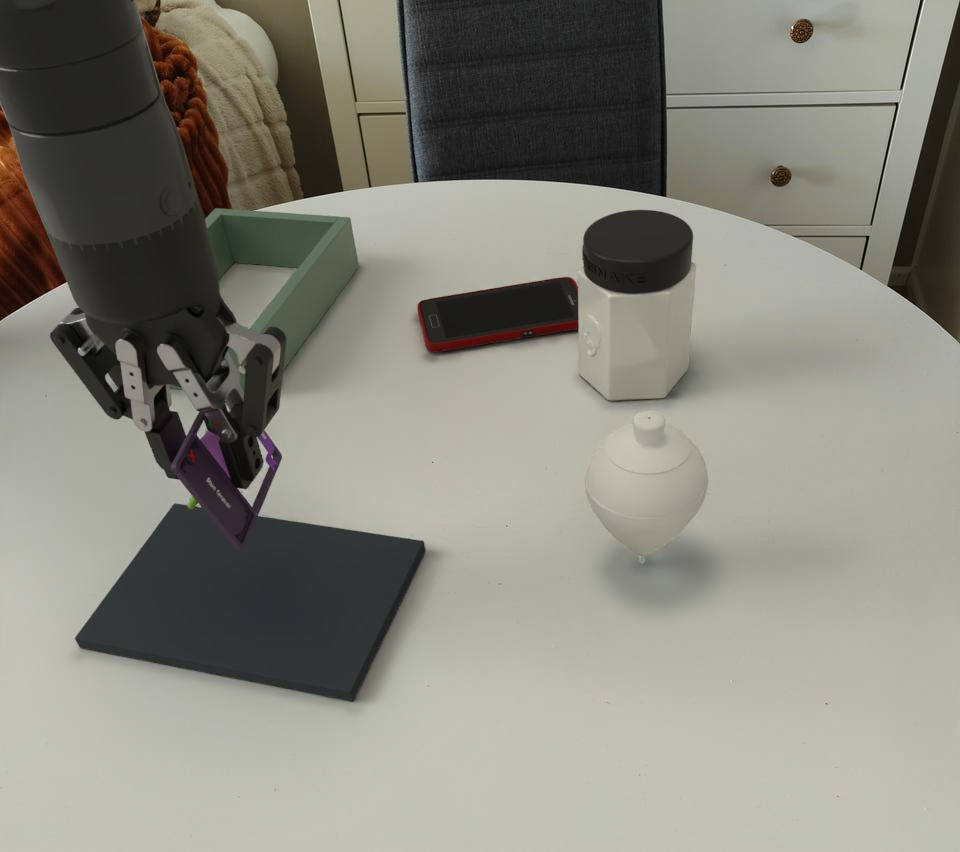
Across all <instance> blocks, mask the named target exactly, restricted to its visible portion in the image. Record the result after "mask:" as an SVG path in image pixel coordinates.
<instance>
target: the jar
mask: <svg viewBox="0 0 960 852" xmlns="http://www.w3.org/2000/svg"><path fill="white" fill-rule="evenodd" d="M582 239H583V240H582V242H583V244H582V249H581V252H582V253H581V255H582V256H581V258H582V262H583V264H582V265H583V266H581V268H579V269H578V271H577V286H578V329H577V330H578V374H579V376H580V377H581V378H582V379H584V380H585V381H586V382H587V383H588V384H589V385H590V386H591V387H593V388H594V389H595V390H596V391H597V392H598V393H599V394H600V395H602V396H603V397H604V398H605V399H606V400H607V401H609V402H611V401H629V400H630V401H631V400H654V399H657V400H658V399H664V398H666V397H667V396H668V394H669V393H670V392H671V390H672V389H673V388H674V387H675V386H676V385H677V383H678V382H679V381H680V380H681V378H682V377H683V376H684V375H685V374H686V372H687V371H688V369H689V364H690V351H691V339H692V329H693V328H692V325H693V315H694V314H693V313H694V301H695V290H696V289H695V288H696V278H697V277H696V276H697V264H696V263H695V262H693V261H692V258H693V246H694V232H693V230H692V228H691V226H690V225H689V223H688V222H686V221H685V220H683V218H680V217H679V216H677V215H674V214H671V213H669V212H665V211H659V210H652V209H631V210H624V211H618V212H614V213H611V214H607V215H606V216H603V217H600V218H598V219H597V220H595V221H594V222H593V223H591V224H590V225H589V226H588V228H586V230H585V232H584V234H583V238H582Z"/></svg>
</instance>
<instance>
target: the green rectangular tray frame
mask: <svg viewBox="0 0 960 852" xmlns="http://www.w3.org/2000/svg"><path fill="white" fill-rule="evenodd" d="M204 219H205V222H206V226H207V229H208V233H209V236H210V240H211V243H212V247H213V250H214V254H215V257H216V260H217V265H218V274H219V280H220V279H222V277H223V276H224V275H225V273H227V271H228V270H229V269H230V268H231V267H232V265H234V263H236V264H248V265H258V266H259V265H261V266H270V267H271V266H272V267H273V266H274V267H283V268H296V270H295V271H294V272H293V274H292V275H291V276H290V278H289V279H288V280H287V282H285V284H284V285H283V286H282V287H281V289H280V290H279V291H278V292H277V294H276V295H275V296H274V298H273V299H272V300H271V301H270V303H269V304H268V305H267V306H266V308H265V309H264V310H263V311H262V312H261V313H260V315H259V316H258V318H257V319H256V320H255V321H254V323H253V324H252V325H251V326H250V328H249V329H251V330H254V331H256V332H259V333H261V334H264V332H265V331H266V330H267V328H269V327H277V328H279V329H281V330H282V331H283V332H284V334H285V335H286V339H287V341H286V351H285V360H284V369H283V371H285V369H286V368H287V366H288V365H289V364H290V362H291V361H292V359H293V358H294V357H295V355H296V354H297V353H298V351H299V350H300V349H301V347H302V346H303V344H304V343H305V342H306V341H307V339H308V338H309V336H310V334H311V333H312V332H313V331H314V329H315V328H316V326H317V325H318V324H319V322H320V321H321V320H322V319H323V317H324V316H325V314H326V313H327V311H328V310H329V309H330V307H331V306H332V304H333V303H334V301H335V300H336V299H337V297H338V296H339V295H340V293H341V292H342V291H343V289H344V288H345V286H346V285H347V284H348V282H349V281H350V279H351V278H352V277H353V276H354V275H355V273H356V271H357V270H358V268H359V267H360V263H359V258H358V253H357V248H356V241H355V237H354V231H353V225H352V224H353V223H352V219H351V217H349V216H337V215H323V214H307V213H293V212H292V213H291V212H279V211H278V212H276V211H265V210H263V211H261V210H248V209H232V208H221V207H220V208H219V207H215V208H214V209H213V210H212V211H211V212H210V213H209V214H208V215H207V216H206V217H205V218H204ZM228 353H229V354H230V356H231V358H232V360H233V362H234V363H235V365H236V367H237V369H238V367H239V366H240V365H239V363H238V358H237V355H236V353H235V352H234V350H233V349H231V348H230V347H229V349H228ZM239 373H240V372H239ZM210 380H211V379H210ZM210 380H209V381H210ZM209 381H208V382H209ZM208 382H207V383H208ZM207 383H206V385H207ZM244 385H245V374H241V373H240V386H241V388H242V390H243V391H244ZM170 389H174V390H175V389H177V390H183V388H180V387H177V386H174V385H171V384H170Z"/></svg>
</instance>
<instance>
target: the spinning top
mask: <svg viewBox="0 0 960 852" xmlns="http://www.w3.org/2000/svg"><path fill="white" fill-rule="evenodd" d="M584 475H585V477H584V485H585V492H586V493H585V494H586V497H587V500H588V503H589V505H590V507H591V509H592V511H593V512H594V515H595V516H596V517H597V519H598V520H599V522H600V523H601V524H602V526H603V527H604V528H605V530H606V531H607V532H608V533H609V534H611V536H613V537H614V538H615V539H616V540H617V541H618V543H620V544H621V545H622V546H624V547H625V548H626V549H628V550H629V551H631V552H632V553H634V554H635V555H637V556H638V563H639V564H641V565H644V564H645V562H646V556H648V555H650V554H652V553H654V552H656V551H658V550H659V549H661V548H662V547H664V546H665V545H667V544H668V543H669V542H671V541H672V540H673V539H674V538H675V537H677V536H678V535H679V534H681V532H682V531H683V530H685V528H686V527H687V526H688V525H689V524H690V523H691V521H692V520H693V519H694V517H696V515H697V514H698V512H699V510H700V509H701V507H702V506H703V504H704V501H705V498H706V494H707V490H708V486H709V475H708V468H707V464H706V460H705V459H704V456H703V455H702V453H701V451H700V450H699V448H698V447H697V445H696V444H695V443H694V442H693V440H691V439H690V438H689V437H688V436H687V435H686V434H685V433H684V432H683V431H682V430H680V429H679V428H677V427H676V426H674V425H671V424H668V423H666V418H665V416H664V415H663V414H662V413H661V412H659V411H655V410H653V409H652V410H651V409H650V410H649V409H648V410H641V411H640V412H638V413H636V414H635V415H634V417H632V422H630V423H627V424H624V425H622V426H620V427H618V428H617V429H615V430H614V431H613V432H611V434H610V435H608V436H607V437H606V438H605V439H604V440H602V441H601V443H600V444H599V445H598V446H597V447H596V448H595V450H594V451H593V453H592V455H591V456H590V458H589V460H588V462H587V466H586V470H585V474H584Z"/></svg>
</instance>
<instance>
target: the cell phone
mask: <svg viewBox="0 0 960 852" xmlns="http://www.w3.org/2000/svg"><path fill="white" fill-rule="evenodd" d="M416 309H417V315H418V320H419V323H420V324H419V325H420V327H421V332H422V336H423V340H424V344H425V347H426V349H427V350H428V351H429V352H431V353H439V352H447V351H454V350H458V349H466V348H471V347H478V346H483V345H489V344H490V345H491V344H495V343H501V342H506V341H512V340H519V339H525V338H531V337H537V336H544V335H548V334H549V335H550V334H555V333H561V332H567V331H574V330H578V283H577V282H576V280H575V279H574V278H572V277H569V276H562V277H561V276H560V277H554V278H548V279H547V278H546V279H542V280H535V281H530V282H524V283H523V282H522V283H518V284H511V285H505V286H499V287H498V286H497V287H493V288H487V289H481V290H474V291H468V292H461V293H455V294H450V295H443V296H437V297H432V298H427V299H422V300H420V301H419V302H418V303H417V307H416Z"/></svg>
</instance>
